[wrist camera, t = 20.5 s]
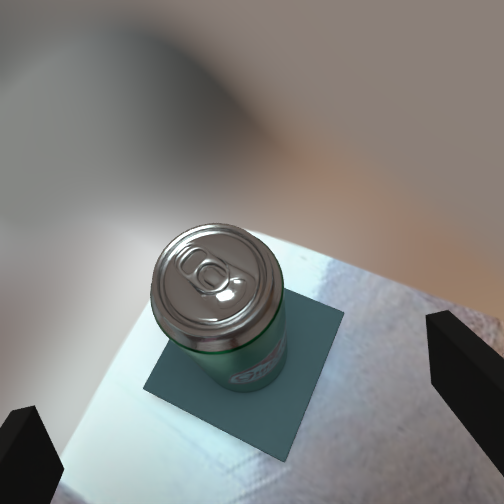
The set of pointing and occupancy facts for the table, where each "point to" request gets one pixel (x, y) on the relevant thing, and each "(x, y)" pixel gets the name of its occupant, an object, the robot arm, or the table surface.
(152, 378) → the square coaster
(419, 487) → the table surface
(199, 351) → the soda can
